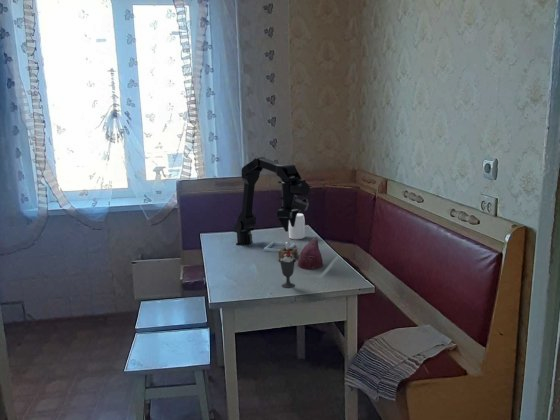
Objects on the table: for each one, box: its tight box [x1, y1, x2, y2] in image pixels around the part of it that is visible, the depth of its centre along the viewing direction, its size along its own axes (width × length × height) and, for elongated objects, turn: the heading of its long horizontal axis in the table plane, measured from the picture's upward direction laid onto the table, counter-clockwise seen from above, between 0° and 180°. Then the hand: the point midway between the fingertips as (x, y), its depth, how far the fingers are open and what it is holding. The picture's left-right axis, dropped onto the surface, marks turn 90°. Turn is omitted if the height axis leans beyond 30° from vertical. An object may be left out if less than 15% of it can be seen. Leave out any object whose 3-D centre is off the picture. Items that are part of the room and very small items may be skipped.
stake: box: [285, 240, 296, 259], centre depth 217 cm, size 7×7×8 cm
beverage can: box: [288, 212, 306, 240], centre depth 250 cm, size 8×8×12 cm
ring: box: [278, 246, 299, 259], centre depth 217 cm, size 7×6×3 cm
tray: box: [263, 241, 296, 253], centre depth 230 cm, size 11×11×2 cm
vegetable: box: [297, 235, 324, 271], centre depth 203 cm, size 10×10×15 cm
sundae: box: [278, 248, 297, 289], centre depth 183 cm, size 7×7×15 cm
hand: (289, 229), depth 217 cm, fingers open, 9 cm apart
